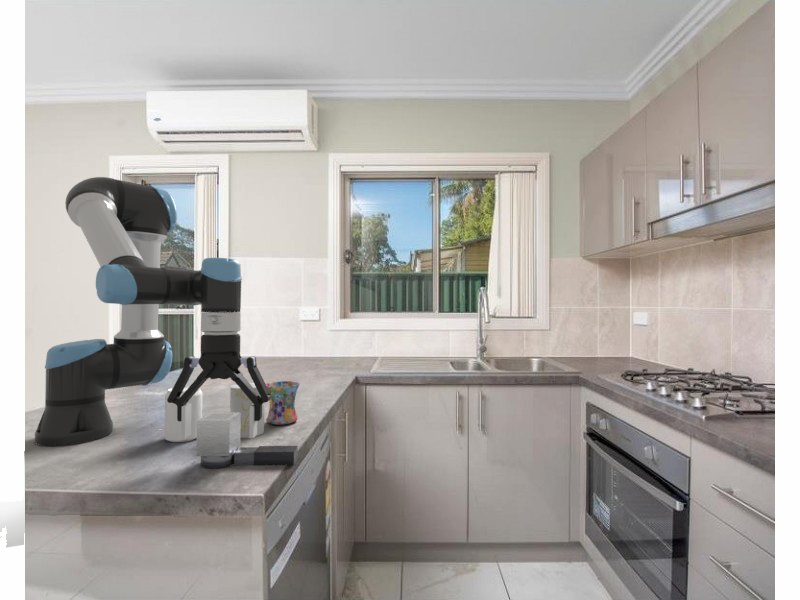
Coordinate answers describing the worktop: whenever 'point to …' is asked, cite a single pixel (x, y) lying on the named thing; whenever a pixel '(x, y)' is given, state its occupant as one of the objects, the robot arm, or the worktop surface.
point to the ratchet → (253, 457)
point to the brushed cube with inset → (218, 434)
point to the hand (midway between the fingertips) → (219, 436)
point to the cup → (244, 410)
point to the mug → (282, 402)
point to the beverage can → (175, 426)
